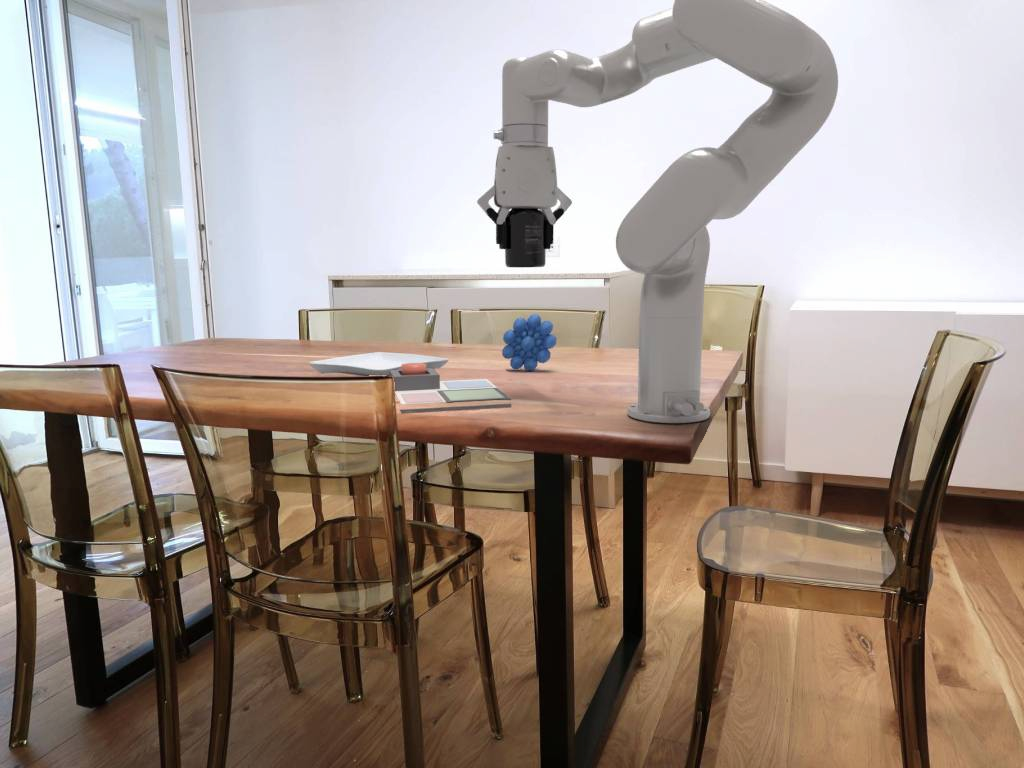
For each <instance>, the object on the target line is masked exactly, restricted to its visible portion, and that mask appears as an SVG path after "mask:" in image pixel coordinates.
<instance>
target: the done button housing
mask: <svg viewBox="0 0 1024 768" xmlns="http://www.w3.org/2000/svg"><path fill="white" fill-rule="evenodd" d="M388 376H389V377H390V376H393V378H394V382H395V391H409V390H429V389H440V381H441V379H440V377H441V375H440V373H438V371H437V370H435V368H426V374H420V375H402V371H401V370H389V375H388Z"/></svg>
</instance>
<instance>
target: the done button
mask: <svg viewBox="0 0 1024 768" xmlns="http://www.w3.org/2000/svg"><path fill="white" fill-rule="evenodd" d="M401 371H402V375H420V374H426V364H424V363H406V364H402V365H401Z"/></svg>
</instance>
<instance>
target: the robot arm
mask: <svg viewBox="0 0 1024 768" xmlns="http://www.w3.org/2000/svg"><path fill="white" fill-rule="evenodd" d="M715 59H717V60H719V61H721V62H722V63H724V64H726V65H728V66H730V67H731V68H733V69H735V70H736V71H738V72H740V73H742V74H743V75H745V76H746V77H749V78H750V79H752V80H753V81H755V82H757V83H759V84H761V85H763V86H766V87H767V88H770V89H772V90H771V94H770V96H769V97H768V99H767V100H766V101H765V102H764V103H763V104H761V105H760V106H759V107H757V109H755V110H754V111H752V113H751V114H749V116H747V118H746V119H744V121H742V123H740V125H739V127H738V128H736V130H735V131H734V132H733V133H732V134H731V135H730V136H729V137H728V138H727V139H726V140H725V141H724V142H723V143H722V144H721V145H720V146H718V147H717V148H716V147H711V146H708V147H707V146H705V147H698V148H694V149H692V150H689V151H687V152H686V153H684V154H683V155H681V156H680V157H677V158H676V159H675V160H674V161H673V162H672V164H670V165H669V166H668V167H667V168H666V170H665V171H663V173H662V174H661V175H660V176H659V177H658V179H657V180H656V181H655V182H654V183H653V184H651V187H650V188H649V189H648V190H647V191H646V192H645V193H644V194H643V196H641V198H640V199H639V200H638V201H637V202H636V203H635V204H634V206H633V207H631V209H630V210H629V211H628V213H627V214H626V215H625V217H624V218H623V219H622V221H621V223H620V225H619V227H618V229H617V233H616V237H615V249H616V253H617V256H618V259H620V261H621V263H622V264H623V265H624V266H625V267H626V268H627V269H629V270H630V271H633V272H634V273H637V274H642V275H643V279H642V283H641V284H642V285H641V288H640V295H639V296H640V297H639V298H640V299H639V317H638V320H639V321H638V322H639V323H638V364H637V365H638V367H637V369H638V373H637V374H638V375H637V402H635V403H632V404H630V405H628V406H627V415H628V416H630V417H631V418H633V419H636V420H639V421H644V422H649V423H659V424H660V423H661V424H662V423H663V424H691V423H697V422H702V421H706V420H707V419H709V418H710V416H711V409H710V408H709V407H707V405H704V403H702V402H701V387H702V386H701V383H702V382H701V381H702V379H701V378H702V354H703V353H702V352H703V351H702V350H703V320H704V318H703V317H704V299H705V298H704V297H705V283H706V277H707V269H708V265H709V264H708V263H709V259H710V258H709V257H710V251H711V250H710V249H711V239H710V234H709V230H708V228H707V225H709V224H710V223H711V221H713V220H727V219H728V220H729V219H731V218H734V217H736V216H738V215H740V214H742V213H743V211H745V210H746V209H747V208H748V207H749V205H750V204H751V203H752V202H753V201H754V200H755V199H756V198H757V197H758V195H759V194H761V192H763V191H764V190H765V189H766V187H767V186H768V185H769V184H771V182H772V181H773V180H775V178H776V177H777V176H778V175H779V174H780V173H781V172H782V171H783V170H784V169H785V167H786V166H787V165H788V164H789V163H790V162H791V161H792V160H793V158H795V157H796V156H797V155H798V153H800V152H801V150H802V149H804V147H805V146H806V145H807V144H808V143H809V142H810V141H811V140H812V139H813V138H814V137H815V135H817V133H818V132H819V131H820V130H821V129H822V127H823V126H824V125H825V122H826V121H827V120H828V118H829V116H830V114H831V113H832V110H833V108H834V105H835V102H836V99H837V96H838V91H839V90H838V89H839V75H838V68H837V64H836V60H835V56H834V54H833V52H832V50H831V47H830V46H829V44H828V43H827V42H826V40H825V39H824V38H823V37H822V36H821V35H820V34H819V33H817V31H815V30H814V29H812V28H811V27H810V26H808V25H807V24H806V23H804V22H803V21H802V20H800V19H799V18H797V17H796V16H794V15H792V14H790V13H789V12H788V11H787V12H786V11H785V10H783V9H781V8H779V7H777V6H775V5H773V4H771V3H769V2H767V1H765V0H674V3H673V6H672V7H671V8H668V9H666V10H662V11H658V12H656V13H653V14H651V15H649V16H648V15H647V16H646V17H642V18H641V19H639V20H638V21H637V22H636V23H635V25H634V27H633V29H632V34H631V40H630V42H628V43H627V44H626V45H624V46H622V47H620V48H618V49H616V50H613V51H611V52H608V53H604V54H603V55H599V56H597V57H594V58H588V57H587V56H586V57H585V56H583V55H580V54H578V53H573V52H571V51H568V50H565V49H560V48H559V49H552V50H547V51H544V52H541V53H540V54H537V55H536V54H535V55H533V56H531V57H530V56H523V57H522V56H519V57H512V58H510V59H508V60H506V61H505V63H504V64H503V67H502V73H501V74H502V75H501V80H502V81H501V83H502V84H501V85H502V86H501V87H502V88H501V92H502V94H501V95H502V97H501V100H502V101H501V103H502V105H501V107H502V110H501V114H502V115H501V117H502V119H501V121H502V122H501V123H502V124H501V125H502V127H501V129H499V130H494V131H493V140H498V141H500V142H501V143H500V144H501V146H498V148H497V154H496V159H495V167H494V168H495V169H494V178H493V179H494V180H493V183H494V184H493V185H492V186H491V187H490V188H489V189H488V190H487V191H486V192H485V193H483V195H481V196H480V197H479V198H478V199H477V200H476V203H477V204H478V206H479V207H480V208H481V210H483V212H484V213H485V214H486V216H488V218H489V219H490V220H491V221H492V222H493V223H494V225H495V243H496V245H498V246H499V247H498V248H499V250H505V249H506V248H507V225H505V218H506V216H507V214H508V212H509V211H510V210H511V209H512V208H538V209H539V210H540V211H542V212H543V213H544V215H545V250H550V249H551V245H553V244H554V225H555V224H556V223H557V221H559V220H560V218H562V217H563V215H564V214H565V213H566V211H567V210H568V209H569V208H570V207H571V206H572V204H573V201H572V199H571V198H570V197H569V196H568V195H566V193H564V191H562V189H560V188H559V187H558V176H557V165H556V157H555V151H554V147H553V146H549V101H552V102H557V103H561V104H566V105H571V106H574V107H579V108H591V107H597V106H599V105H604V104H606V103H610V102H613V101H617V100H620V99H622V98H624V97H628V96H630V95H632V94H634V93H636V92H637V91H639V90H641V89H642V88H644V87H646V86H647V85H649V84H650V83H651V82H652V81H653V80H655V79H657V78H661V77H663V76H665V75H666V76H667V75H669V74H671V73H675V72H677V71H681V70H684V69H688V68H690V67H694V66H696V65H699V64H703V63H706V62H709V61H712V60H715ZM492 198H493V202H494V205H495V206H496V207H497V208H498V210H497V211H496V210H495V209H494V208H493V207H492V206H491V205H490V203H489V201H490V200H491V199H492ZM558 201H559V203H560V204H559V205H558ZM557 205H558V207H557V208H556V209H555V210H554V211H553V210H552V208H554V207H555V206H557Z"/></svg>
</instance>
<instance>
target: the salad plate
mask: <svg viewBox="0 0 1024 768" xmlns="http://www.w3.org/2000/svg"><path fill="white" fill-rule="evenodd" d="M449 360H450V358H446V357H438V356H433V355H423V354H415V353H414V354H413V353H402V352H401V353H399V352H384V351H383V352H382V351H375V352H369V353H362V354H361V353H360V354H352V355H345V356H340V357H339V356H338V357H333V358H332V357H331V358H326V359H322V360H321V359H320V360H315V361H314V360H313V361H310V362H308V365H309V366H310V367H311V368H312V369H314V370H315V371H318V372H319V373H322V374H335V373H336V374H338V373H339V374H340V373H345V374H346V373H349V374H356V375H364V376H369V375H388V376H390V375H389V370H401V365H402V364H406V363H424V364H426V368H433V369H440V368H442V367H444V366H445V365H446V364H447V363H448V362H449Z"/></svg>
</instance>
